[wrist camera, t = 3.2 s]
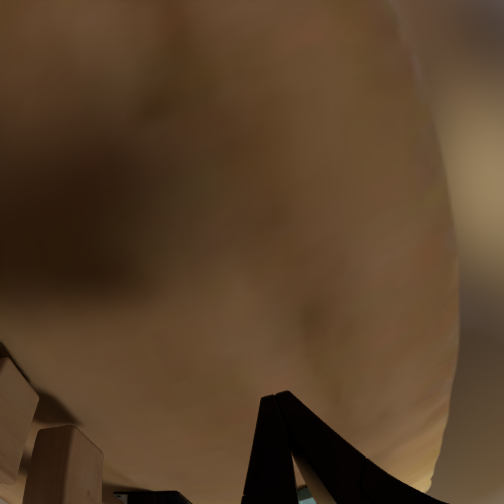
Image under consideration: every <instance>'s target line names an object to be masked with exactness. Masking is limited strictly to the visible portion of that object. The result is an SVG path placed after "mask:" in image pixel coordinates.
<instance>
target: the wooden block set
mask: <svg viewBox="0 0 504 504" xmlns="http://www.w3.org/2000/svg"><path fill="white" fill-rule="evenodd" d="M38 401H39V396H38V394H37V393H36V392H35V391H34V389H33V388H32V387H31V386H30V384H29V383H28V382H27V381H26V379H25V378H24V377H23V376H22V374H21V373H20V372H19V370H18V369H17V368H16V366H15V365H14V364H13V362H12V361H11V359H10V358H8V357H4V358H1V359H0V484H9V485H14V484H15V483H16V479H17V474H18V470H19V466H20V462H21V458H22V454H23V450H24V446H25V443H26V439H27V436H28V432H29V429H30V426H31V422H32V419H33V416H34V413H35V410H36V407H37V404H38ZM103 457H104V455H103V452H102V451H101V450H100V449H99V448H98V447H97V446H96V445H95V444H94V443H92V442H91V441H90V440H89V439H88V438H87V437H86V436H85V435H84V434H83V433H82V432H81V431H80V430H79V429H78V428H77V427H76V426H74V425H66V426H60V427H53V428H46V429H40V430H39V431H38V433H37V437H36V440H35V444H34V448H33V452H32V457H31V461H30V465H29V470H28V475H27V480H26V485H25V491H24V496H23V503H22V504H102V474H103Z"/></svg>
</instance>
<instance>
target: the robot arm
mask: <svg viewBox="0 0 504 504" xmlns="http://www.w3.org/2000/svg"><path fill="white" fill-rule="evenodd" d="M291 453H292V454H291ZM292 456H293V458H294V460H295V462H296V465H297V467H298V469H299V471H300V473H301V475H302V477H303V479H304V481H305V483H306V485H307V487H308V489H309V491H310V493H311V494H312V496H313V498H314V500H315V502H316V504H449V503H445V502H442V501H440V500H437V499H435V498H433V497H431V496H429V495H426V494H425V493H423V492H421V491H419V490H417V489H415V488H413V487H411V486H409V485H407V484H405V483H403V482H401V481H400V480H398V479H396V478H395V477H393V476H391V475H390V474H388V473H387V472H385V471H384V470H383V469H381V468H380V467H378V466H377V465H376V464H374V463H373V462H372V461H371V460H369V459H368V458H366V457H365V456H364V455H363V454H362V453H360V452H359V451H358V450H357V449H355V448H354V447H353V446H352V445H351V444H349V443H348V442H347V441H346V440H345V439H343V438H342V437H341V436H340V435H339V434H337V433H336V432H335V431H334V430H333V429H332V428H330V427H329V426H328V425H327V424H326V423H325V422H323V421H322V420H321V419H320V418H319V417H318V416H317V415H315V414H314V413H313V412H312V411H311V410H310V409H309V408H308V407H307V406H305V405H304V404H303V403H302V402H301V401H300V400H299V399H298V398H297V397H295V396H294V395H293V394H292V393H291V392H290V391H288V390H286V391H283V392H279V393H276V395H273V394H272V395H268V396H264V397H262V398H261V400H260V406H259V411H258V417H257V423H256V428H255V434H254V439H253V445H252V450H251V455H250V461H249V466H248V471H247V476H246V481H245V486H244V491H243V496H242V500H241V504H300V503H299V497H298V490H297V484H296V478H295V472H294V465H293V460H292ZM113 496H115V497H116V498H117V499H119V500H120V501H122V502H123V503H125V504H192V503H191V502H190V501H189V500H188V499H186V498H185V497H184V496H183V495H182V494H181V493H180V492H178V491H158V492H113Z"/></svg>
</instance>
